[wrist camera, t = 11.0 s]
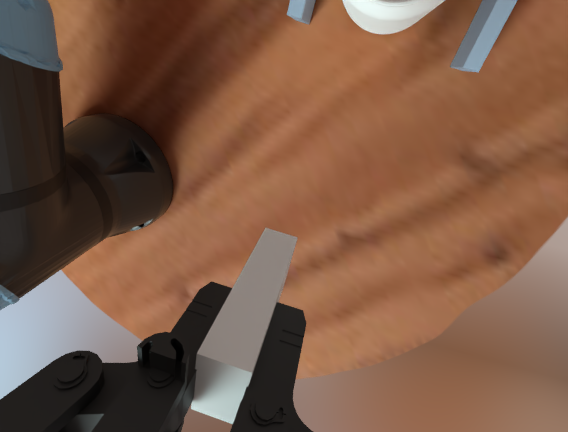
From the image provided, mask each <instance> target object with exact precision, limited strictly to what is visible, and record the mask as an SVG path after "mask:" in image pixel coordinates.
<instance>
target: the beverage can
mask: <svg viewBox="0 0 568 432" xmlns="http://www.w3.org/2000/svg"><path fill="white" fill-rule="evenodd" d="M342 1H343V3H344V6H345V8H346V10H347V12H348V14H349V16H350V17H351V18H352V20H353V21H354V22H355V23H356V24H357V25H358V26H360V27H361V28H363V29H364V30H366V31H369V32H372V33H376V34H391V33H396V32H399V31H402V30H404V29H406V28H408V27H410V26H412V25H413V24H415V23H416V22H417V21H419V20H420V19H421V18H423V17H424V16H425V15H427V14H428V13H429V12H430V11H432V10H433V9H434V8H436V7H437V6H438V5H440V4H441V3H442V2H444V1H445V0H342Z"/></svg>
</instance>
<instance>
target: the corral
mask: <svg viewBox="0 0 568 432" xmlns="http://www.w3.org/2000/svg"><path fill="white" fill-rule="evenodd" d="M315 1H316V0H290V4H289V8H288V13H287V15H288V16H290V17H292V18H293V19H295V20H297V21H300V22H303V23H306V24H310V20H311V16H312V12H313V8H314V5H315ZM516 2H517V0H482V2H481V4H480V7H479V9H478V11H477V13H476V15H475V17H474V19H473V21H472V23H471V25H470V27H469V29H468V31H467V33H466V35H465V37H464V39H463V41H462V43H461V45H460V47H459V49H458V51H457V53H456V55H455V57H454V59H453V61H452V63H451V65H450V67H452V68H455V69H459V70H462V71H470V72H479V70H480V68H481V67H482V65H483V63H484V61H485V59H486V57H487V55H488V54H489V52H490V50H491V48H492V46H493V44H494V43H495V41H496V39H497V37H498V35H499V33H500V32H501V30H502V28H503V26H504V24H505V22H506V20H507V19H508V17H509V15H510V13H511V11H512V9H513V8H514V6H515V4H516Z"/></svg>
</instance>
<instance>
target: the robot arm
mask: <svg viewBox="0 0 568 432" xmlns="http://www.w3.org/2000/svg"><path fill="white" fill-rule="evenodd" d="M61 70H63V63H62V61H61V59H60V58H59V56H58V48H57V41H56V33H55V25H54V17H53V13H52V9H51V6H50V4H49V2H48V0H0V310H1V309H3V308H5V307H6V306H8V305H10V304H14V303H16V302H17V301H19V298H21V297H22V296H24V295H25V294H26V293H28V292H29V291H31V290H32V289H34V288H35V287H36V286H38V285H39V284H41V283H42V282H44V281H45V280H46V279H48V278H49V277H51V276H52V275H54V274H55V273H56V272H58V271H59V270H61V269H62V268H64V267H65V266H66V265H68V264H69V263H71V262H72V261H74V260H75V259H76V258H78V257H79V256H81V255H82V254H84V253H85V252H86V251H88V250H89V249H91V248H92V247H94V246H95V245H96V244H98V243H99V242H101V241H102V240H104V239H105V238H108V237H112V236H116V235H119V234H123V233H126V232H129V231H134V230H138V229H142V228H144V227H146V226H148V225H150V224H151V223H153V222H154V221H155V220H157V219H158V218H159V217H161V216H162V215H163V214H164V213H165V212H166V210H167V209H168V207H169V205H170V202H171V199H172V192H173V183H172V177H171V172H170V169H169V166H168V164H167V161H166V159H165V157H164V155H163V153H162V152H161V150H160V149H159V147H158V146H157V144H156V143H155V142H154V141H153V139H152V138H151V137H150V136H149V135H148V134H147V133H146V132H145V131H143V130H142V129H141V128H140V127H138V126H137V125H136V124H134V123H132V122H131V121H129V120H127V119H125V118H122V117H120V116H117V115H113V114H104V113H103V114H94V115H89V116H84V117H80V118H78V119H75V120H73V121H71V122H70V123H68V124H67V125H66V126H65V127H64V128H63V118H62V105H61V92H60V79H59V71H61ZM297 238H298V237H294V236H291V235H288V234H284V233H281V232H278V231H275V230H271V229H268V228H265V230H264V231H263V233H262V235H261V237H260V239H259V241H258V242H257V244H256V246H255V248H254V250H253V252H252V253H251V255H250V257H249V259H248V261H247V263H246V264H245V266H244V268H243V270H242V272H241V274H240V275H239V277H238V279H237V281H236V283H235V285H234V286H233V288H230V287H227V286H224V285H221V284H217V283H214V282H210V283H209V284H207V285H206V286H204V287H203V288H201V289H200V290H199V291H198V293H197V294H196V296H195V297H194V299H193V301H192V302H191V303H190V305H189V306H188V308H187V309H186V311H185V312H184V313H183V315H182V316H181V318H180V319H179V321H178V322H177V324H176V325H175V326H174V328H173V329H172V331H171V332H170V333H168V332H163V333H157V334H154V335H152V336H150V337H148V338H146V339H144V340H143V341H142V342H141V343H140V344H139V345H138V346H137V350H138V361H137V362H131V363H102V360H101V359H100V358H99V357H98V355H97V354H95V353H92V352H90V351H75V352H71V353H68V354H65V355H63V356H61V357H60V358H58V359H56V360H54V361H53V362H51V363H50V364H49V365H48V366H46V367H45V368H43V369H42V370H40V371H39V372H38V373H36V374H35V375H34V376H32V377H31V378H29V379H28V380H27V381H25V382H24V383H23V384H21V385H20V386H18V387H17V388H16V389H15V390H13V391H12V392H10V393H9V394H7V395H6V396H5V397H3V398H2V399H1V400H0V432H181V430H182V427H183V423H184V417H185V415H186V413H187V411H188V408H189V406H190V405H191V403H192V407H191V409H193V410H195V411H198V412H201V413H204V414H206V415H209V416H212V417H215V418H217V419H220V420H223V421H225V422H228V423H231V424H233V425H232V429H231V431H230V432H313V431H311V430H310V429H309V428H308V427H307V426H306V425H305V424H304V423H303V422H302V421H301V419H300V418H299V417H298V415H297V413H296V410H295V408H294V403H293V389H294V383H295V379H296V374H297V368H298V363H299V358H300V353H301V348H302V343H303V337H304V333H305V327H306V320H305V317H304V313H303V310H300V309H297V308H294V307H291V306H287V305H284V304H281V303H278V302H279V299H280V296H281V293H282V290H283V287H284V284H285V280H286V277H287V273H288V270H289V266H290V263H291V259H292V256H293V252H294V249H295V245H296V242H297Z"/></svg>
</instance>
